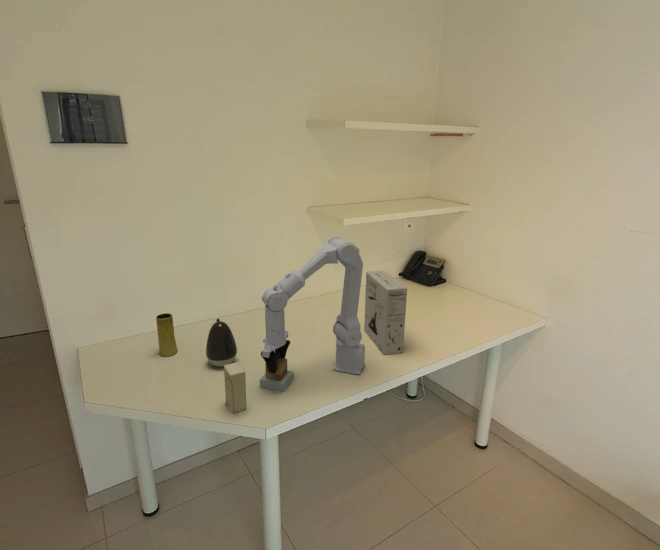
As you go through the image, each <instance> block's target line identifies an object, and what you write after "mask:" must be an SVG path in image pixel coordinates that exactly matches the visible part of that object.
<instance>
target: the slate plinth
mask: <svg viewBox="0 0 660 550" xmlns="http://www.w3.org/2000/svg"><path fill="white" fill-rule="evenodd" d="M294 379H295V371H294V370H288V369H287V374H286V375H285V376H284V378H283V379H282V380H281V381H278V380H273V379H268V378H266V372H265V373H264V374H263V375H262V376H261V378H260V379H259V388H261V389H264V390H271V391H276V392H281V393H284V392H285V391H286V390H287V388H288V387H289V386H290V385H291V383H292V382H293V380H294Z"/></svg>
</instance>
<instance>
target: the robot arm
mask: <svg viewBox="0 0 660 550" xmlns="http://www.w3.org/2000/svg"><path fill="white" fill-rule="evenodd" d="M339 263H340V264H341V265H342V266H343V267H344V269H345V270H344V277H343V288H342V294H341V295H342V297H341V306H340V307H341V308H340V313H339V314H338V315H337V316H336V320H335V323H334V325H333V327H332V332H333V334H334V336H336V337H335V362H334V364H333V366H332V367H331V370H332V371H337V372H341V373H342V372H343V373H348V374H353V375H360V374H361V372H362V371H363V368H364V366H365V363H366V362H365V357H366V356H365V353H366V351H365V349H366V345H365V344H363V343H361V341H362V337H363V335H362V331H361V323H360V321H359V318H358V312H359V311H358V310H359V303H360V294H361V286H362V277H363V267H364V263H363V260H362V258H361V255H360V249H359V247H357V246H356V244H354V243H352V242H350V241H349V242H348V241H347V240H344V239H342V238H341V237H338V236H335V237H331V238H330V239H329V240H328V241H327V242H324V243H323V245H322V246H321V248H320V249H319V250H318V251H317V252H316V253H314V255H313V256H312V257H311V258H310V259H309V260H308V261H307V262H305V264H304V265H303V266H302V267H300V268H299V270H291V271H290V272H289V271H287V272H286V273H285V274H284V277H283V278H282V279H281V280H280V281H278V282H277V283H275V284H273V285H272V287H269V288H267V289H266V290H265V291H264V292H263V294H262V296H261V301H262V302H263V304H264V310H265V313H264V319H265V320H264V321H265V337H264V338H263V339H262V342H263V343H264V347H263V349H262V350H261V351H260V356H261V358H262V359H263V360H264V362H265V363H266V365H267V368H268V371H269V372H270V373H276V370H277V362H278V358H279V357H280V358H285V359H286V356H287V351H288V349H289V347H290V344H291V340H289V339H288V338H289V331H287V330H286V327H285V325H286V324H285V323H286V321H285V319H286V317H285V308H286V307H287V305H288V301H289V300H290V299H291V298H292V297H294V295H295V294H297V292H299V291H300V290H301V289H302V288H303V287H305V284H306V280H307V279H308V278H310V277H311V276H313V274H315V273H316V272H318V270H320V269H321V268H323V267H324V266H326V265H327V264H328V265H329V264H330V265H331V264H333V265H334V264H335V265H336V264H339ZM266 365H265V366H266Z"/></svg>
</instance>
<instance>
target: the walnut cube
mask: <svg viewBox="0 0 660 550" xmlns="http://www.w3.org/2000/svg"><path fill="white" fill-rule="evenodd" d="M264 366H265V373H266V378H268V379H273V380H278V381H281V380H282V379H283V378H284V376H285V375H286V374H287V370H288V358H286V357H285V358H280V357H279V358H278V362H277V370H276V373H270V372H269V371H268V368H267V365H266V362H265V365H264Z"/></svg>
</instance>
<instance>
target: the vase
mask: <svg viewBox="0 0 660 550" xmlns="http://www.w3.org/2000/svg"><path fill="white" fill-rule="evenodd" d="M155 319H156V327H157V338H158V339H157V340H158V349H159V354H158V355H160V356H161V357H172V356H175V355H176V354H177V353H178V351H179V350H178V347H177V342H176V336H175V329H174V327H175V326H174V319H173V314H172V313H168V312H166V313H164V312H163V313H160V314H158V315H156V316H155Z"/></svg>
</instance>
